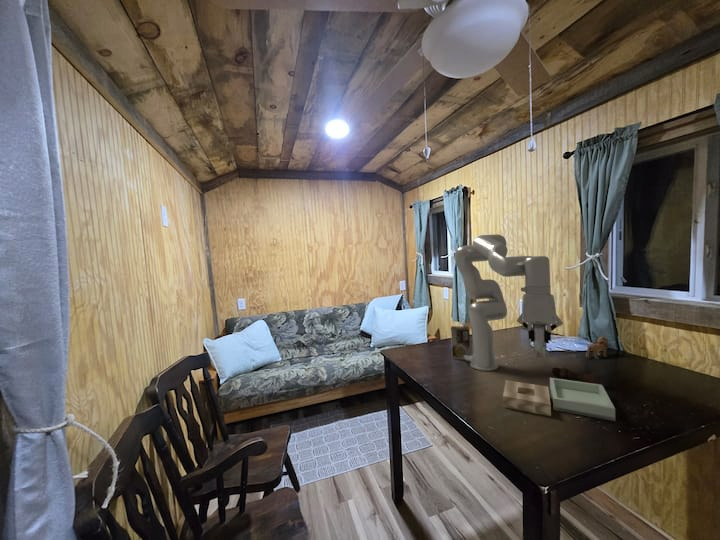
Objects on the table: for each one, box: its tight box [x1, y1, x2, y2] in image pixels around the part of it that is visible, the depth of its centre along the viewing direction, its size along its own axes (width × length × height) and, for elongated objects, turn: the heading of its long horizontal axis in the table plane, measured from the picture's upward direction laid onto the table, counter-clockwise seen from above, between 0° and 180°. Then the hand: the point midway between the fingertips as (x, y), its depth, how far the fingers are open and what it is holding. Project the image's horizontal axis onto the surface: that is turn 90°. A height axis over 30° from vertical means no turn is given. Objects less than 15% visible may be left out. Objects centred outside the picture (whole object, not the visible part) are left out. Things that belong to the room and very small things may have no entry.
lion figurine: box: [585, 336, 609, 359], centre depth 139 cm, size 15×5×9 cm, turn 115°
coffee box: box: [450, 325, 472, 360], centre depth 148 cm, size 9×6×16 cm
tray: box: [549, 377, 616, 422], centre depth 99 cm, size 16×18×4 cm
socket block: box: [502, 379, 552, 417], centre depth 102 cm, size 14×14×4 cm
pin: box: [531, 322, 548, 359], centre depth 100 cm, size 6×6×13 cm
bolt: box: [551, 366, 599, 384], centre depth 116 cm, size 6×5×15 cm
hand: (539, 341), depth 100 cm, fingers closed on pin, 4 cm apart
